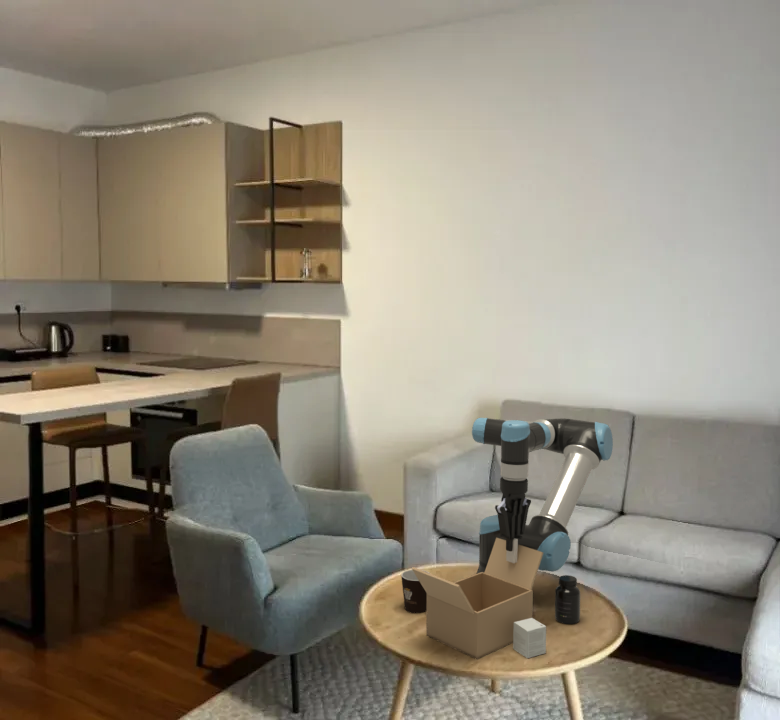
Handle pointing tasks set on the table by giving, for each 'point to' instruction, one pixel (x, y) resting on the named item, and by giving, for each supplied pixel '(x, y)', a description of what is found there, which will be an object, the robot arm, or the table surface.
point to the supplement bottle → (567, 600)
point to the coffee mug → (413, 593)
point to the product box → (529, 638)
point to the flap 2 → (514, 564)
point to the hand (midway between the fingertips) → (511, 561)
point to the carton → (479, 615)
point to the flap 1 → (443, 590)
